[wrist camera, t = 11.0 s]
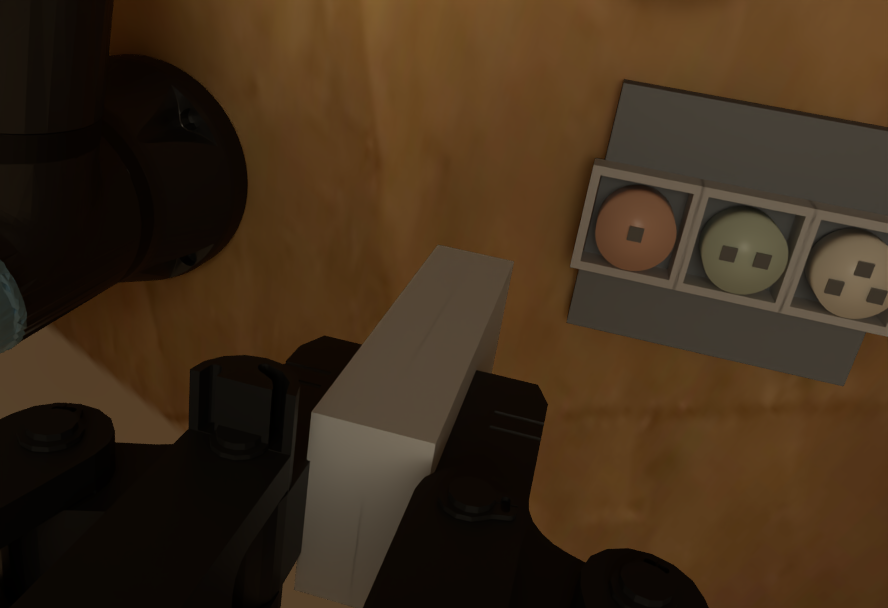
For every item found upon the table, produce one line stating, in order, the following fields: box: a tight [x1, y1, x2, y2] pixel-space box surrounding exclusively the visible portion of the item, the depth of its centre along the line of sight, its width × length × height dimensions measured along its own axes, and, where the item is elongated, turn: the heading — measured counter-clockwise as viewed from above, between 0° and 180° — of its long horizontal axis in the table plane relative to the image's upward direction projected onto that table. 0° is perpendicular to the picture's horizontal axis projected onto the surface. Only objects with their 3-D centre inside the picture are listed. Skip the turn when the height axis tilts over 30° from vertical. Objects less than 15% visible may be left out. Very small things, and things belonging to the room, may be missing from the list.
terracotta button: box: [595, 185, 676, 271], centre depth 45 cm, size 4×4×3 cm
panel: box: [567, 79, 888, 386], centre depth 45 cm, size 18×15×4 cm
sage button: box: [699, 206, 788, 294], centre depth 44 cm, size 4×4×3 cm
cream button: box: [805, 228, 888, 319], centre depth 43 cm, size 4×4×3 cm
